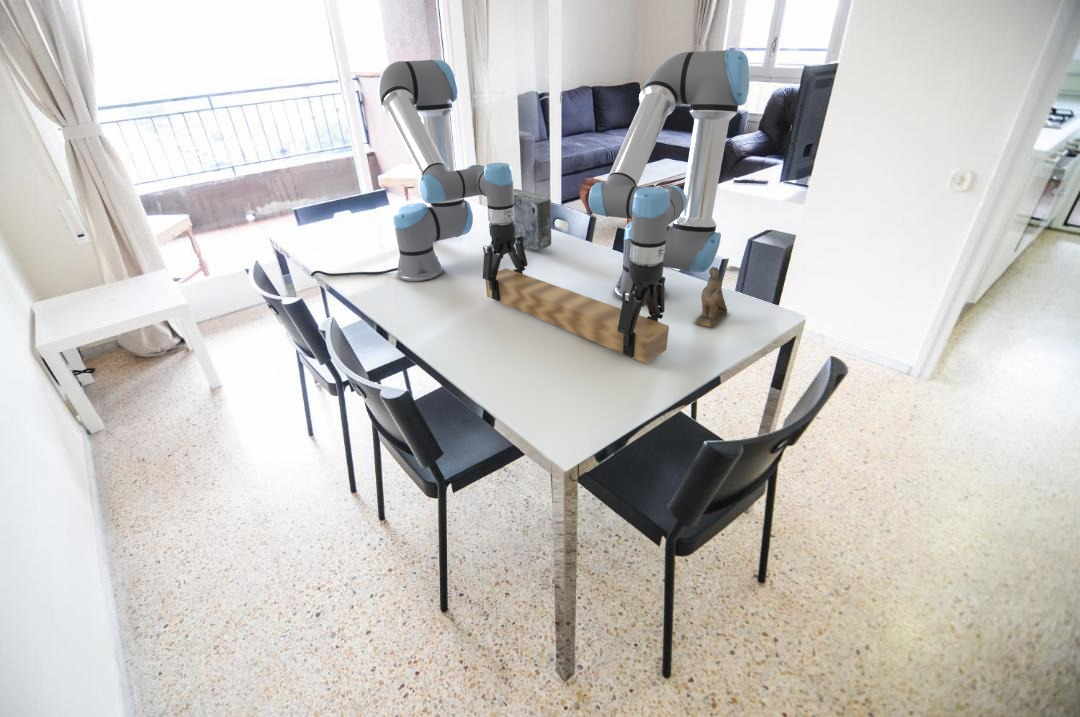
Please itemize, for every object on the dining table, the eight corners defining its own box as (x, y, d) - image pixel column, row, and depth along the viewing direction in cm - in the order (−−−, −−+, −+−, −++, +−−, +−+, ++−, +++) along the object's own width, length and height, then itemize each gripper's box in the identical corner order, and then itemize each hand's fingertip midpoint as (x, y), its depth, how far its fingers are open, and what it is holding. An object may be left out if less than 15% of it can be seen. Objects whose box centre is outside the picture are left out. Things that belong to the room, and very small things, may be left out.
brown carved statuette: (709, 335, 136) (713, 280, 124) (691, 329, 139) (693, 274, 128) (730, 313, 142) (736, 258, 130) (712, 307, 145) (716, 253, 133)
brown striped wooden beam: (487, 296, 154) (485, 276, 150) (507, 288, 159) (506, 268, 155) (646, 363, 118) (648, 338, 114) (666, 350, 123) (669, 325, 119)
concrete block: (556, 252, 190) (555, 199, 179) (537, 257, 186) (535, 203, 175) (517, 236, 209) (515, 187, 198) (500, 240, 204) (496, 190, 194)
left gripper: (481, 233, 133) (488, 309, 144) (537, 215, 145) (540, 287, 157) (464, 228, 137) (472, 302, 149) (520, 211, 150) (524, 281, 162)
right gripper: (631, 279, 102) (625, 370, 114) (686, 251, 115) (676, 336, 127) (603, 270, 107) (600, 359, 119) (659, 245, 120) (651, 327, 132)
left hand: (507, 294), depth 153 cm, fingers closed on brown striped wooden beam, 9 cm apart
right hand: (639, 347), depth 123 cm, fingers closed on brown striped wooden beam, 9 cm apart
